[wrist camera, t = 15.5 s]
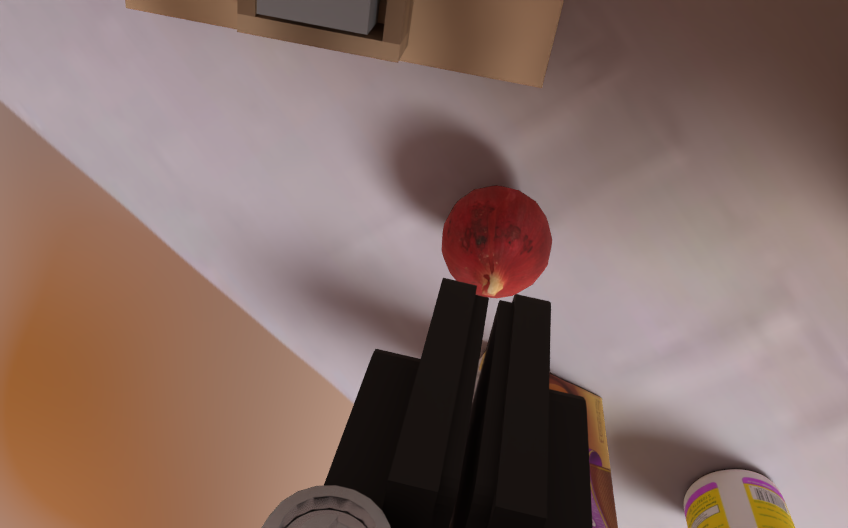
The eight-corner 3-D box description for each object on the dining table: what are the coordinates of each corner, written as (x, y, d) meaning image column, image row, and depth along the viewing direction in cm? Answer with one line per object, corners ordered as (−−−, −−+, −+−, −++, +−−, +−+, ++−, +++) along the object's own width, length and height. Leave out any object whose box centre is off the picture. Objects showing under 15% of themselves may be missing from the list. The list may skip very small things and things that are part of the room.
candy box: (458, 384, 47) (431, 590, 34) (488, 341, 45) (472, 546, 32) (569, 436, 48) (584, 654, 35) (605, 397, 46) (634, 616, 33)
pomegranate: (436, 175, 39) (417, 247, 32) (537, 152, 37) (539, 222, 31) (464, 260, 42) (451, 343, 35) (558, 242, 40) (564, 324, 33)
